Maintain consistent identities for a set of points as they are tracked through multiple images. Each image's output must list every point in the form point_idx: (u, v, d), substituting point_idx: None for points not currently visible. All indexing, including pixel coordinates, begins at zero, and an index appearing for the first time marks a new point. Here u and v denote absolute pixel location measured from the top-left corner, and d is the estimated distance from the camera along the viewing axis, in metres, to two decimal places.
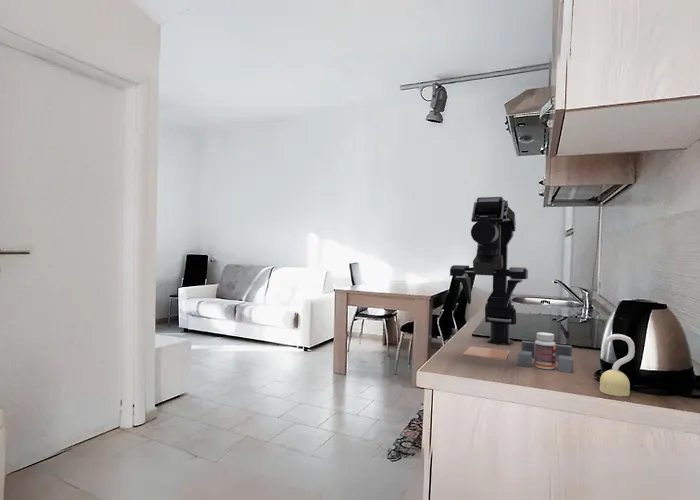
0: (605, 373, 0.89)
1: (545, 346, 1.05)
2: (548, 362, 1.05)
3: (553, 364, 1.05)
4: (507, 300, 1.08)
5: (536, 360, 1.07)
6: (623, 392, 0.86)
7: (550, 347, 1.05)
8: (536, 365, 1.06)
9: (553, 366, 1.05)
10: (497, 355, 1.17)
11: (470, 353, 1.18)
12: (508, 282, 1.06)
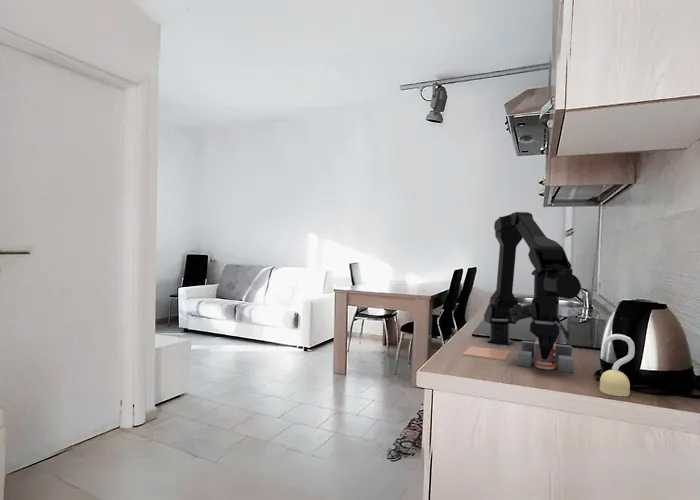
0: (605, 373, 0.89)
1: None
2: (548, 361, 1.05)
3: (553, 364, 1.05)
4: None
5: (536, 360, 1.07)
6: (623, 392, 0.86)
7: None
8: (536, 365, 1.06)
9: (553, 366, 1.05)
10: (497, 355, 1.17)
11: (470, 353, 1.18)
12: None
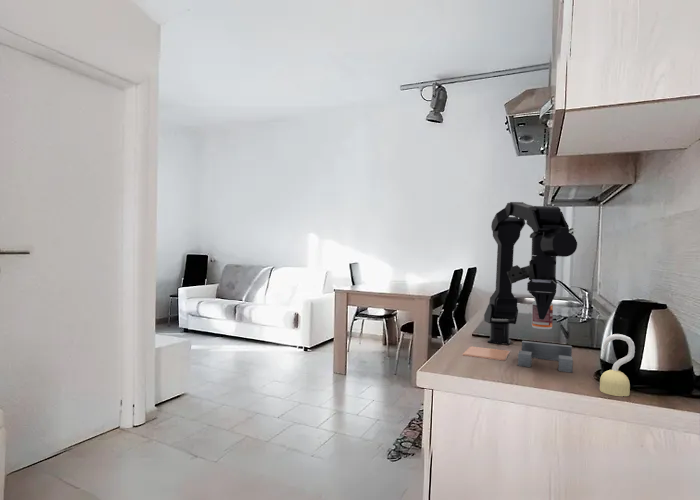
0: (605, 373, 0.89)
1: None
2: (545, 321, 1.06)
3: (550, 324, 1.06)
4: (538, 312, 1.06)
5: (533, 321, 1.07)
6: (623, 392, 0.86)
7: None
8: (533, 325, 1.07)
9: (550, 326, 1.06)
10: (497, 355, 1.17)
11: (470, 353, 1.18)
12: None
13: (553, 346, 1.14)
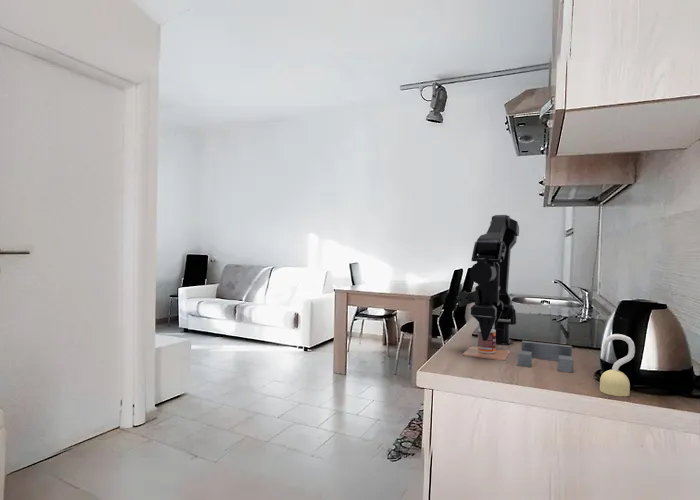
0: (605, 373, 0.89)
1: None
2: (488, 347, 1.18)
3: (493, 349, 1.18)
4: None
5: (479, 346, 1.20)
6: (623, 392, 0.86)
7: (490, 333, 1.18)
8: (479, 350, 1.20)
9: (493, 350, 1.18)
10: (497, 355, 1.17)
11: (470, 353, 1.18)
12: None
13: (553, 346, 1.14)
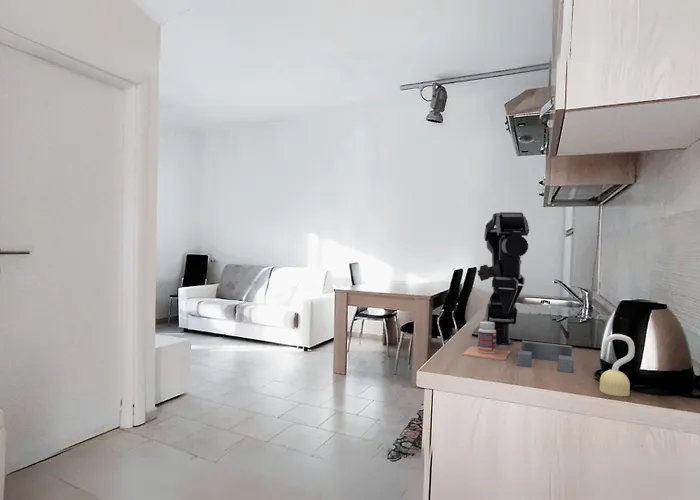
0: (605, 373, 0.89)
1: (486, 333, 1.18)
2: (488, 347, 1.18)
3: (493, 349, 1.18)
4: (502, 307, 1.18)
5: (479, 346, 1.20)
6: (623, 392, 0.86)
7: (491, 333, 1.18)
8: (479, 350, 1.20)
9: (493, 351, 1.18)
10: (497, 355, 1.17)
11: (470, 353, 1.18)
12: None
13: (553, 346, 1.14)
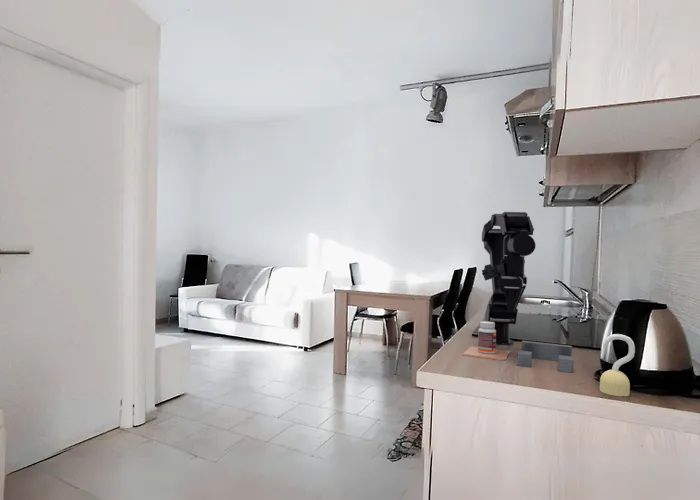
0: (605, 373, 0.89)
1: (486, 333, 1.18)
2: (488, 347, 1.18)
3: (493, 349, 1.18)
4: None
5: (479, 346, 1.20)
6: (623, 392, 0.86)
7: (491, 333, 1.18)
8: (479, 350, 1.20)
9: (493, 351, 1.18)
10: (497, 355, 1.17)
11: (470, 353, 1.18)
12: None
13: (553, 346, 1.14)
